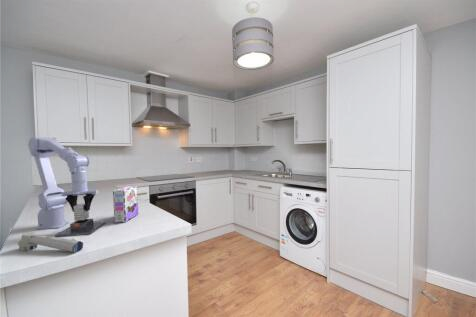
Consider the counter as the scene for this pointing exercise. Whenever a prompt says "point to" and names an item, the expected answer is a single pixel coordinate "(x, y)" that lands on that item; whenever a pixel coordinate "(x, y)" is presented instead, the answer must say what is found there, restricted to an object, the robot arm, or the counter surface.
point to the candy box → (125, 204)
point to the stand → (81, 228)
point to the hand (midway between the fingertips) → (81, 210)
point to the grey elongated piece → (48, 243)
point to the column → (80, 212)
